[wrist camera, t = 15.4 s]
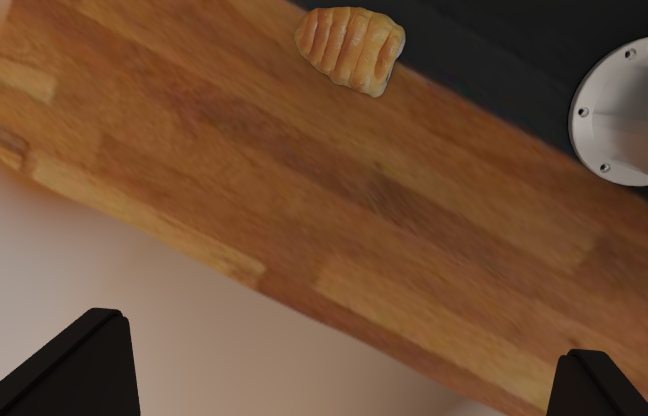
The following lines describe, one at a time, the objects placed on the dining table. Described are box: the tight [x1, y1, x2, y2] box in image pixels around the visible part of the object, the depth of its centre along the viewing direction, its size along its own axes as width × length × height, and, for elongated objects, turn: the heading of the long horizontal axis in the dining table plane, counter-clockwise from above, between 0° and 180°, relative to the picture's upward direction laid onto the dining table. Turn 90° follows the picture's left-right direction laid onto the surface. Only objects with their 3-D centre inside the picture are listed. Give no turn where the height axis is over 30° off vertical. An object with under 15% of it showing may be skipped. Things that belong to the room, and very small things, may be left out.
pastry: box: [294, 7, 405, 98], centre depth 37 cm, size 9×7×4 cm
